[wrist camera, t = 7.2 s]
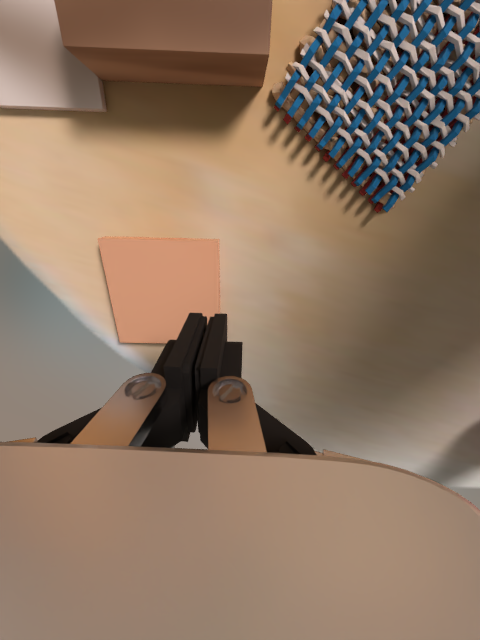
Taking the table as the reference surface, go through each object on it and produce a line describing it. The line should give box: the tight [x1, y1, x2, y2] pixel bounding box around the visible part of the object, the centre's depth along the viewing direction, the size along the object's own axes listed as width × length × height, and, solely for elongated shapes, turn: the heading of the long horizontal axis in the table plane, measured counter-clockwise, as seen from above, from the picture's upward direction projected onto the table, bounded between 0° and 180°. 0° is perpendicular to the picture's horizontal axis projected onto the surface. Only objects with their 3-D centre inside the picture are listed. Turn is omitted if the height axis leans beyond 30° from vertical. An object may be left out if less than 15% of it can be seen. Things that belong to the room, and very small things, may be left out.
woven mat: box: [272, 0, 480, 213], centre depth 13 cm, size 10×11×2 cm
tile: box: [98, 236, 220, 343], centre depth 19 cm, size 8×2×8 cm
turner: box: [0, 0, 272, 112], centre depth 12 cm, size 6×15×4 cm, turn 88°
